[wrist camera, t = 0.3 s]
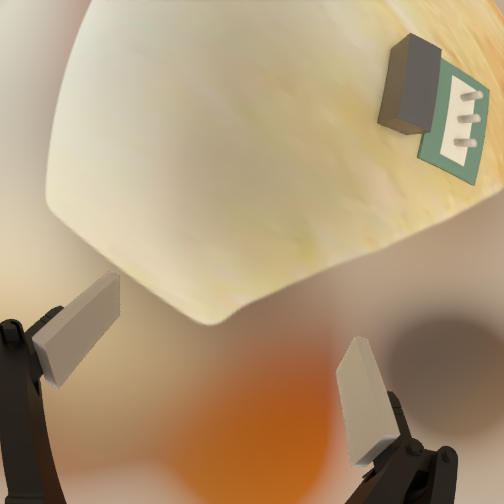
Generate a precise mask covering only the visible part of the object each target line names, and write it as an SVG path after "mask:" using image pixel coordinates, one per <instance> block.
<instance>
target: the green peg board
mask: <svg viewBox="0 0 504 504" xmlns="http://www.w3.org/2000/svg"><path fill="white" fill-rule="evenodd" d="M489 92H490V90H489V89H487V88H486V87H485V86H483V85H482V84H481V83H479V82H478V81H476V80H475V79H473V78H472V77H471V76H469V75H468V74H466V73H465V72H463V71H461V70H460V69H458V68H457V67H455V66H454V65H452V64H450V63H449V62H447V61H445V60H443V59H442V58H441V63H440V74H439V83H438V90H437V98H436V104H435V111H434V116H433V122H432V127H431V132H430V133H423V134H422V137H421V142H420V147H419V151H418V155H417V158H419V159H421V160H424V161H426V162H428V163H430V164H432V165H434V166H436V167H438V168H440V169H443V170H445V171H447V172H448V173H450V174H452V175H454V176H456V177H458V178H460V179H462V180H464V181H466V182H467V183H469V184H471V185H474V186H475V182H476V178H477V173H478V169H479V164H480V159H481V154H482V149H483V143H484V137H485V130H486V123H487V115H488V105H489Z"/></svg>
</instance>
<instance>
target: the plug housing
mask: <svg viewBox="0 0 504 504" xmlns="http://www.w3.org/2000/svg"><path fill="white" fill-rule="evenodd" d="M441 50H442V49H440V48H438V47H437V46H435V45H433V44H431V43H429V42H427V41H426V40H424V39H422V38H420V37H418V36H416V35H414V34H412V33H410V34H409V35H407V36H406V37H405V38H404V39H403V40H401V41H400V42H399V43H398V44H397V45H395V46H394V47H393V48H392V49H391V53H390V60H389V66H388V72H387V78H386V83H385V89H384V94H383V99H382V104H381V109H380V114H379V118H378V123H379V124H381V125H384V126H386V127H389V128H391V129H394V130H396V131H398V132H401V133H403V134H405V135H410V134H423V133H430V132H431V127H432V122H433V116H434V111H435V104H436V98H437V90H438V83H439V74H440V63H441Z"/></svg>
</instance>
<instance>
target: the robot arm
mask: <svg viewBox="0 0 504 504" xmlns="http://www.w3.org/2000/svg"><path fill="white" fill-rule="evenodd" d="M119 316H120V275H118V274H116V273H113V272H110V271H108V272H107V273H106V274H105V275H103V276H102V277H101V278H100V279H98V280H97V281H96V282H95V283H93V284H92V285H91V286H90V287H89V288H87V289H86V290H85V291H84V292H83V293H82V294H80V295H79V296H78V297H77V298H75V299H74V300H73V301H72V302H71V303H70V304H68V305H67V306H66V307H65V308H64V307H62V306H58V307H55V308H53V309H51V310H50V311H49V312H47V313H46V314H45V316H43V317H42V318H40V320H38V321H37V322H36V323H35V324H34V325H33V326H31V327H30V328H29V329H28V330H27V331H26V332H25V333H24V331H23V327H22V324H21V323H20V322H19V321H17V320H15V319H8V320H5V321H3V322H1V323H0V442H1V451H2V459H3V466H4V472H5V477H6V482H7V487H8V496H7V497H6V498H5V504H67V503H66V501H65V498H64V495H63V492H62V489H61V486H60V483H59V479H58V476H57V472H56V468H55V465H54V461H53V457H52V452H51V448H50V443H49V438H48V433H47V427H46V421H45V415H44V408H43V400H42V391H41V382H40V379H39V378H40V377H41V376H42V375H43V374H44V377H45V380H46V382H47V383H49V384H50V385H52V386H53V387H55V388H57V389H60V387H61V386H62V385H63V383H64V382H65V381H66V380H67V378H68V377H69V376H70V375H71V373H72V372H73V371H74V369H75V368H76V367H77V365H79V363H80V362H81V361H82V360H83V358H84V357H85V356H86V355H87V353H88V352H89V351H90V350H91V349H92V348H93V346H94V345H95V344H96V343H97V341H98V340H99V339H100V338H101V337H102V336H103V335H104V333H105V332H106V331H107V330H108V329H109V327H110V326H111V325H112V324H113V323H114V322H115V320H116V319H117V318H118V317H119ZM336 376H337V382H338V386H339V392H340V398H341V404H342V409H343V415H344V421H345V428H346V434H347V441H348V448H349V455H350V462H351V467H366V466H367V465H369V464H370V463H371V462H372V461H373V463H374V468H372V469H371V470H370V471H369V472H367V473H366V474H365V475H364V476H363V477H362V478H365V479H364V480H363V481H362V483H361V484H360V485H359V486H358V488H357V489H356V490H355V492H354V493H353V494H352V495H351V497H350V498H349V499H348V500H347V502H346V503H345V504H454V499H455V491H456V480H457V468H458V455H457V453H456V451H455V450H454V449H453V448H451V447H449V446H443V447H441V448H440V449H439V450H438V451H431V450H427V449H424V447H423V445H422V443H420V442H419V441H418V440H416V439H414V438H412V437H411V434H410V431H409V428H408V425H407V422H406V419H405V416H404V415H403V414H404V413H403V410H402V409H401V405H400V402H399V399H398V398H397V397H396V395H395V394H394V393H393V392H390V391H386V389H385V386H384V383H383V380H382V378H381V375H380V372H379V369H378V366H377V364H376V361H375V358H374V355H373V353H372V350H371V348H370V345H369V343H368V340H367V338H363V337H358V336H355V337H354V339H353V340H352V342H351V344H350V346H349V348H348V350H347V352H346V354H345V356H344V358H343V359H342V361H341V363H340V365H339V367H338V368H337V370H336Z"/></svg>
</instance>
